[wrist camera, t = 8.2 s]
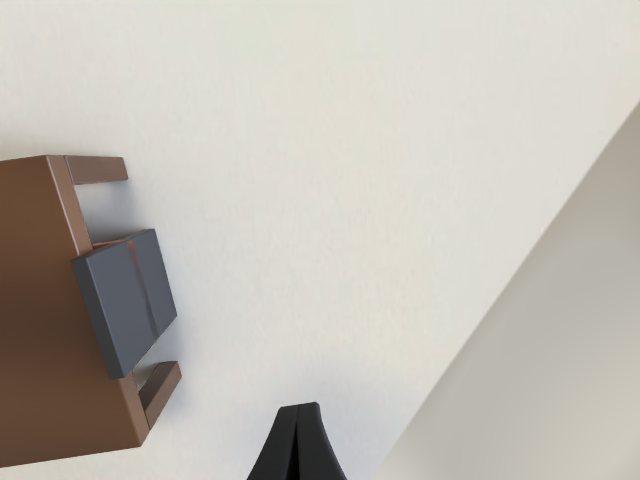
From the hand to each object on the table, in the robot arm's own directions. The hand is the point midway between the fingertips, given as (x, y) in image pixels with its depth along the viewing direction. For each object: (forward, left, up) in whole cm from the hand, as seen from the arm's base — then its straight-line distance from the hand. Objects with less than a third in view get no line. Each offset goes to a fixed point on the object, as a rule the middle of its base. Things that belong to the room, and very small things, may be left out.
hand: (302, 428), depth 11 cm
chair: (+4, +11, -9) cm, 15 cm away
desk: (+4, +13, -9) cm, 16 cm away
